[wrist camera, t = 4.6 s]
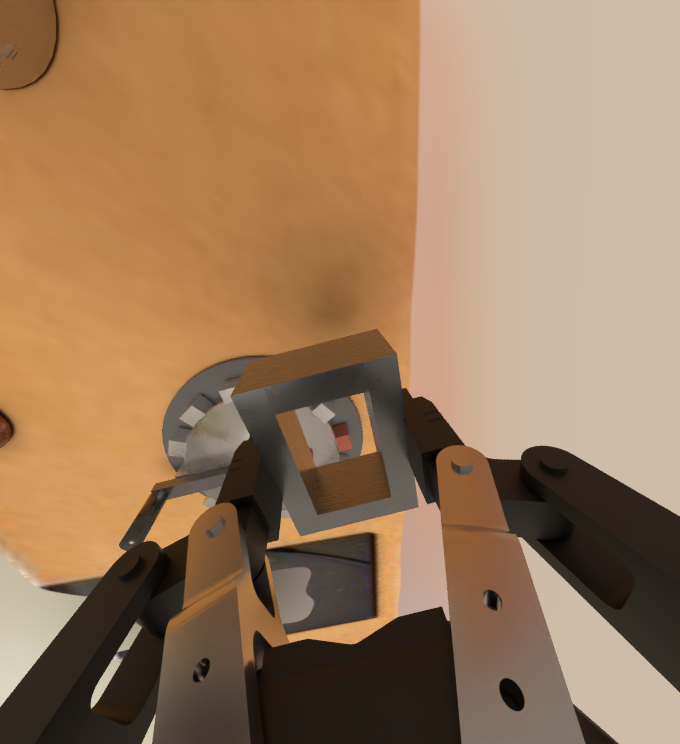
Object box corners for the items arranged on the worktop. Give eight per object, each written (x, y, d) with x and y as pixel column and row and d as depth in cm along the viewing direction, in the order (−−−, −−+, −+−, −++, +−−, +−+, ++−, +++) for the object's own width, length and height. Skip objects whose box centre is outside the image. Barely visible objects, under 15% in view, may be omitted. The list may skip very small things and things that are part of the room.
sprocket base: (122, 385, 26) (111, 394, 24) (340, 332, 26) (342, 338, 24) (217, 521, 36) (213, 533, 34) (374, 483, 35) (377, 493, 34)
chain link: (248, 361, 10) (230, 395, 8) (377, 329, 10) (396, 353, 8) (302, 486, 13) (300, 536, 11) (399, 461, 13) (418, 507, 11)
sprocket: (117, 407, 25) (40, 472, 18) (328, 355, 25) (336, 400, 18) (203, 523, 34) (175, 599, 27) (362, 485, 34) (376, 551, 27)
